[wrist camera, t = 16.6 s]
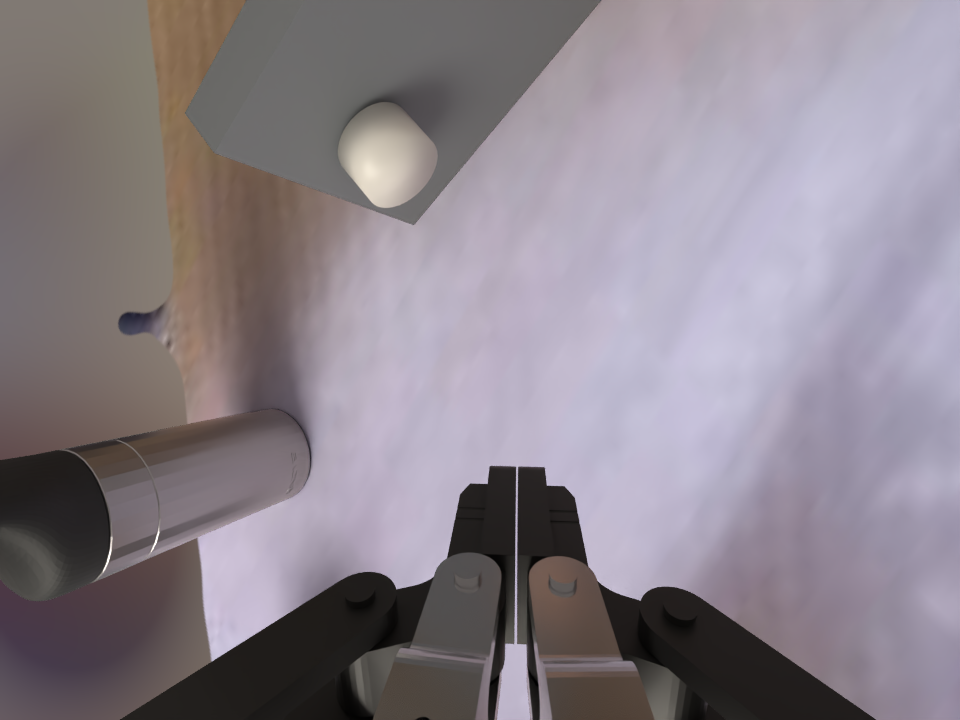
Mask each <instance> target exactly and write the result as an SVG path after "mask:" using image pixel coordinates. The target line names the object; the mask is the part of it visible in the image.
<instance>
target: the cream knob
mask: <svg viewBox="0 0 960 720" xmlns="http://www.w3.org/2000/svg"><path fill="white" fill-rule="evenodd" d="M437 157H438V155H437V149H436V146H435V144H434V143H433V142H432V141H431V140H430V138H429V137H428V136H427V135H426V134H425V133H424V132H423V131H422V130H421V128H420V127H419V126H418V125H417V124H416V123H415V122H414V121H413V120H412V118H411V117H410V116H409V115H408V114H407V113H406V112H405V111H404V110H403V109H402V108H401V107H400V106H399V105H397V104H395V103H391V102H380V103H376V104H373V105H370V106H368V107H366V108H365V109H363V110H362V111H360V112H359V113H358V114H357V115H355V116H354V117H353V118H352V119H351V121H350V122H349V123H348V124H347V126H346V127H345V129H344V131H343V133H342V135H341V138H340V140H339V145H338V158H339V161H340V164H341V166H342V167H343V168H344V169H345V171H346V172H347V173H348V174H349V176H350V177H351V178H352V179H353V180H354V182H355V183H356V184H357V185H358V186H359V188H360V189H361V190H362V191H363V193H364V194H365V195H366V196H367V197H368V199H369V200H370V201H371V202H372V203H373V204H374V205H376V206H378V207H381V208H391V207H395V206H398V205H401V204H403V203H405V202H407V201H408V200H410V199H411V198H413V197H414V196H415V195H417V194H418V193H419V192H420V191H421V190H422V189H423V188H424V186H425V185H426V184H427V183H428V181H429V180H430V178H431V176H432V174H433V172H434V170H435V167H436V164H437Z"/></svg>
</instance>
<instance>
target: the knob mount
mask: <svg viewBox="0 0 960 720" xmlns="http://www.w3.org/2000/svg"><path fill="white" fill-rule="evenodd" d="M600 1H601V0H246V2H245V4H244V6H243V8H242V9H241V11H240V13H239V15H238V17H237V19H236V20H235V22H234V24H233V26H232V28H231V30H230V31H229V33H228V35H227V37H226V39H225V41H224V42H223V44H222V46H221V48H220V50H219V52H218V53H217V55H216V57H215V59H214V61H213V63H212V64H211V66H210V68H209V70H208V72H207V74H206V75H205V77H204V79H203V81H202V83H201V85H200V86H199V88H198V90H197V92H196V94H195V96H194V97H193V99H192V101H191V103H190V105H189V106H188V108H187V110H186V112H185V114H186V116H187V117H188V118H189V120H190V121H191V122H192V124H193V125H194V126H195V128H196V129H197V130H198V132H199V133H200V134H201V136H202V137H203V139H204V140H205V141H206V143H207V144H208V145H209V147H210V148H211V149H212V151H213V152H214V153H216V154H218V155H221V156H224V157H227V158H229V159H232V160H235V161H238V162H241V163H243V164H246V165H249V166H252V167H254V168H257V169H260V170H263V171H265V172H268V173H271V174H274V175H277V176H279V177H282V178H285V179H288V180H290V181H293V182H296V183H299V184H301V185H304V186H307V187H310V188H313V189H315V190H318V191H321V192H324V193H326V194H329V195H332V196H335V197H337V198H340V199H343V200H346V201H349V202H351V203H354V204H357V205H360V206H362V207H365V208H368V209H371V210H373V211H376V212H379V213H382V214H385V215H387V216H390V217H393V218H396V219H398V220H401V221H404V222H407V223H409V224H412V225H414V224H415V223H416V222H417V220H418V219H419V218H420V217H421V216H422V214H423V213H424V212H425V211H426V210H427V208H428V207H429V206H430V205H431V204H432V202H433V201H434V200H435V199H436V198H437V196H438V195H439V194H440V193H441V192H442V191H443V189H444V188H445V187H446V186H447V185H448V183H449V182H450V181H451V180H452V179H453V177H454V176H455V175H456V174H457V173H458V171H459V170H460V169H461V168H462V167H463V165H464V164H465V163H466V162H467V161H468V159H469V158H470V157H471V156H472V155H473V153H474V152H475V151H476V150H477V149H478V147H479V146H480V145H481V144H482V143H483V141H484V140H485V139H486V138H487V137H488V135H489V134H490V133H491V132H492V131H493V129H494V128H495V127H496V126H497V125H498V123H499V122H500V121H501V120H502V119H503V117H504V116H505V115H506V114H507V113H508V111H509V110H510V109H511V108H512V107H513V105H514V104H515V103H516V102H517V101H518V99H519V98H520V97H521V96H522V95H523V93H524V92H525V91H526V90H527V89H528V87H529V86H530V85H531V84H532V83H533V81H534V80H535V79H536V78H537V77H538V75H539V74H540V73H541V72H542V71H543V69H544V68H545V67H546V66H547V65H548V63H549V62H550V61H551V60H552V59H553V57H554V56H555V55H556V54H557V53H558V51H559V50H560V49H561V48H562V47H563V45H564V44H565V43H566V42H567V41H568V39H569V38H570V37H571V36H572V35H573V33H574V32H575V31H576V30H577V29H578V27H579V26H580V25H581V24H582V23H583V21H584V20H585V19H586V18H587V17H588V15H589V14H590V13H591V12H592V11H593V9H594V8H595V7H596V6H597V5H598V3H599V2H600ZM380 102H391V103H395V104H397V105H399V106H400V107H401V108H402V109H403V110H404V111H405V112H406V113H407V114H408V115H409V116H410V117H411V118H412V120H413V121H414V122H415V123H416V124H417V125H418V126H419V127H420V128H421V130H422V131H423V132H424V133H425V134H426V135H427V136H428V137H429V138H430V140H431V141H432V142H433V143H434V144H435V146H436V149H437V155H438V157H437V164H436V167H435V170H434V172H433V174H432V176H431V178H430V180H429V181H428V183H427V184H426V185H425V186H424V188H423V189H422V190H421V191H420V192H419V193H418V194H417V195H415V196H414V197H413V198H411V199H410V200H408V201H407V202H405V203H403V204H401V205H398V206H395V207H391V208H381V207H378V206H376V205H374V204H373V203H372V202H371V201H370V200H369V199H368V197H367V196H366V195H365V194H364V193H363V191H362V190H361V189H360V188H359V186H358V185H357V184H356V183H355V182H354V180H353V179H352V178H351V177H350V176H349V174H348V173H347V172H346V171H345V169H344V168H343V167H342V166H341V164H340V161H339V158H338V145H339V140H340V138H341V135H342V133H343V131H344V129H345V127H346V126H347V124H348V123H349V122H350V121H351V119H352V118H353V117H354V116H355V115H357V114H358V113H359V112H360V111H362V110H363V109H365V108H366V107H368V106H370V105H373V104H376V103H380Z"/></svg>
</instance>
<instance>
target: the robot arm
mask: <svg viewBox="0 0 960 720" xmlns="http://www.w3.org/2000/svg"><path fill="white" fill-rule="evenodd" d="M309 469H310V455H309V448H308V444H307V440H306V438H305V436H304V434H303V431H302V430H301V428H300V427H299V425H298V424H297V423H296V422H295V420H294V419H293V418H292V417H291V416H289V415H288V414H286V413H285V412H282V411H280V410H277V409H266V410H261V411H256V412H250V413H249V412H247V413H242V414H237V415H232V416H227V417H222V418H216V419H211V420H206V421H201V422H196V423H191V424H186V425H180V426H175V427H170V428H166V429H160V430H156V431H152V432H147V433H142V434H137V435H131V436H127V437H121V438H117V439H111V440H108V441H102V442H97V443H92V444H87V445H81V446H76V447H71V448H66V449H61V450H56V451H51V452H46V453H41V454H36V455H30V456H24V457H18V458H11V459H5V460H0V579H1V580H2V581H3V583H4V584H5V585H6V586H7V587H8V588H10V589H11V590H12V591H13V592H14V593H16V594H17V595H19V596H21V597H23V598H25V599H27V600H31V601H45V600H50V599H53V598H56V597H59V596H62V595H64V594H67V593H69V592H71V591H74V590H76V589H78V588H81V587H83V586H85V585H87V584H90V583H92V582H95V581H97V580H99V579H102V578H104V577H106V576H109V575H111V574H114V573H116V572H118V571H121V570H123V569H125V568H128V567H130V566H132V565H135V564H137V563H139V562H141V561H144V560H146V559H148V558H151V557H153V556H155V555H157V554H160V553H162V552H164V551H167V550H169V549H172V548H174V547H176V546H179V545H181V544H183V543H186V542H188V541H190V540H193V539H195V538H197V537H200V536H202V535H204V534H207V533H209V532H211V531H214V530H216V529H218V528H221V527H223V526H225V525H228V524H230V523H232V522H235V521H237V520H239V519H242V518H244V517H246V516H249V515H251V514H253V513H256V512H258V511H261V510H263V509H265V508H268V507H270V506H272V505H275V504H277V503H279V502H282V501H284V500H286V499H289V498H291V497H293V496H294V495H296V494H297V493H299V491H300V490H301V489H302V488H303V486H304V484H305V482H306V480H307V477H308V473H309ZM515 514H516V467H511V466H490V469H489V477H488V484H469V485H468V487H467V488H466V489H465V490H464V491H463V492H462V493H461V494H460V498H459V503H458V510H457V513H456V519H455V522H454V527H453V532H452V537H451V542H450V547H449V552H448V556H447V559H446V560H444V561H443V562H442V563H441V564H440V565H439V566H438V568H437V570H436V572H435V575H434V577H433V578H432V579H430V580H428V581H426V582H424V583H422V584H419V585H415V586H411V587H406V588H401V589H397V590H396V587H395V585H394V583H393V582H392V580H391V579H390V578H388V577H387V576H385V575H383V574H380V573H376V572H363V573H357V574H354V575H351V576H348V577H346V578H344V579H343V580H341V581H339V582H338V583H336V584H334V585H333V586H331V587H330V588H328V589H327V590H325V591H323V592H322V593H320V594H319V595H317V596H315V597H314V598H312V599H311V600H309V601H307V602H306V603H304V604H303V605H301V606H300V607H298V608H296V609H295V610H293V611H292V612H290V613H288V614H287V615H285V616H284V617H282V618H281V619H279V620H277V621H276V622H274V623H273V624H271V625H269V626H268V627H266V628H265V629H263V630H261V631H260V632H258V633H257V634H255V635H254V636H252V637H250V638H249V639H247V640H246V641H244V642H242V643H241V644H239V645H238V646H236V647H234V648H233V649H231V650H230V651H228V652H227V653H225V654H223V655H222V656H220V657H219V658H217V659H215V660H214V661H212V662H211V663H209V664H208V665H206V666H204V667H203V668H201V669H200V670H198V671H197V672H195V673H193V674H192V675H190V676H188V677H187V678H186V679H184V680H182V681H181V682H179V683H177V684H176V685H174V686H173V687H171V688H169V689H168V690H166V691H165V692H163V693H162V694H160V695H159V696H157V697H155V698H154V699H152V700H151V701H149V702H147V703H146V704H144V705H142V706H141V707H139V708H138V709H136V710H135V711H133V712H131V713H130V714H128V715H127V716H125V717H123V718H122V719H120V720H497V714H498V705H499V696H500V688H501V670H502V668H503V665H504V660H505V643H508V644H514V618H515ZM517 644H527V690H528V700H529V711H530V720H876V719H874V718H873V717H871V716H870V715H869V714H867V713H866V712H864V711H863V710H861V709H860V708H858V707H857V706H856V705H854V704H853V703H851V702H850V701H848V700H847V699H845V698H844V697H843V696H841V695H840V694H838V693H837V692H835V691H834V690H832V689H831V688H830V687H828V686H827V685H825V684H824V683H822V682H821V681H820V680H818V679H817V678H815V677H814V676H812V675H811V674H809V673H808V672H807V671H805V670H804V669H802V668H801V667H799V666H798V665H796V664H795V663H794V662H792V661H791V660H789V659H788V658H786V657H785V656H783V655H782V654H781V653H779V652H778V651H776V650H775V649H773V648H772V647H770V646H769V645H768V644H766V643H765V642H763V641H762V640H760V639H759V638H757V637H756V636H755V635H753V634H752V633H750V632H749V631H747V630H746V629H744V628H743V627H742V626H740V625H739V624H737V623H736V622H734V621H733V620H731V619H730V618H729V617H727V616H726V615H724V614H723V613H721V612H720V611H719V610H717V609H716V608H714V607H713V606H711V605H710V604H708V603H707V602H706V601H704V600H703V599H701V598H700V597H698V596H696V595H695V594H693V593H691V592H688V591H686V590H683V589H679V588H675V587H657V588H654V589H651V590H649V591H648V592H646V593H645V594H644V596H643V597H642V599H641V601H639V600H636V599H632V598H629V597H626V596H623V595H620V594H617V593H615V592H613V591H611V590H609V589H607V588H606V587H604V586H603V585H601V584H600V583H599V582H598V581H597V579H596V576H595V574H594V573H593V571H592V570H591V569H590V568H589V567H588V563H587V558H586V553H585V548H584V543H583V538H582V533H581V528H580V525H579V518H578V514H577V507H576V502H575V498H574V497H573V496H572V494H571V493H570V492H569V491H568V490H567V489H566V488H565V486H547V484H546V475H545V467H518V542H517Z"/></svg>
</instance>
